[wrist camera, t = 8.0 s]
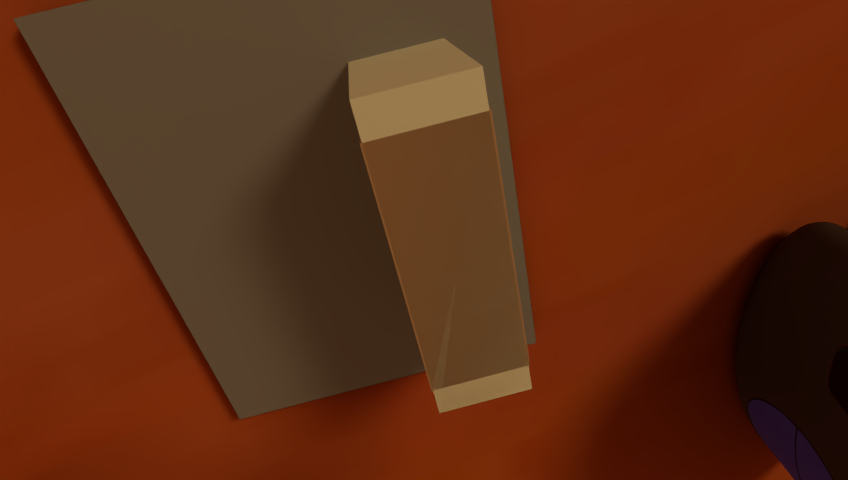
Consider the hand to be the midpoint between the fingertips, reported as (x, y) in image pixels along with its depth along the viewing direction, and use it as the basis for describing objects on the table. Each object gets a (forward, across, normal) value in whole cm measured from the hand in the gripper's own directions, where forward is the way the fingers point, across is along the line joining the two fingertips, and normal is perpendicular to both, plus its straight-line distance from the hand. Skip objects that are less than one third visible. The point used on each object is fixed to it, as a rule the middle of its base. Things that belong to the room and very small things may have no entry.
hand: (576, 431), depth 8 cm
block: (+11, +1, 0) cm, 11 cm away
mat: (+11, +4, 0) cm, 12 cm away
